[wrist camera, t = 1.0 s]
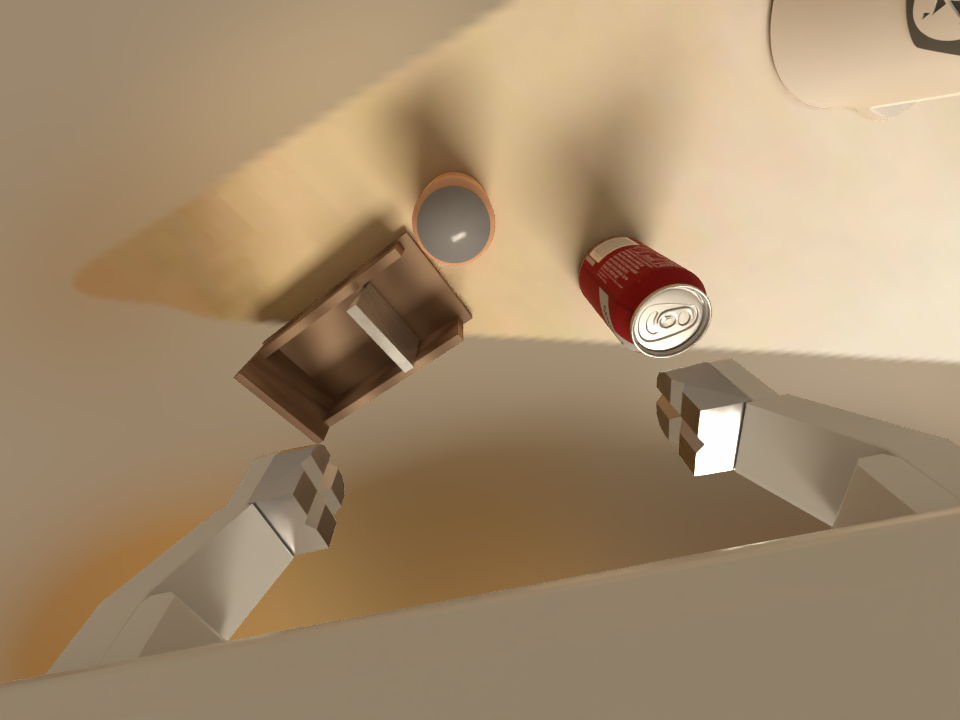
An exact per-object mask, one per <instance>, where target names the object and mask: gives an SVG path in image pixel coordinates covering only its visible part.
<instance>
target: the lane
mask: <svg viewBox="0 0 960 720" xmlns="http://www.w3.org/2000/svg"><path fill="white" fill-rule="evenodd" d="M369 282H370V283H371V284H372V285H373V286H374V288H375V289H376V290H377V291H378V292H379V293H380V294H381V296H382V297H383V298H384V299H385V300H386V301H387V302H388V303H389V305H390V306H391V307H392V308H393V309H394V310H395V311H396V313H397V314H398V315H399V316H400V317H401V318H402V319H403V320H404V322H405V323H406V324H407V325H408V326H409V327H410V328H411V330H412V331H413V332H414V333H415V334H416V335H417V336H418V337H419V344H418V349H417V354H416V359H415V364H414V367H413V368H412V369H410V370H409V371H407V372H406V373H405V372H404V371H403V370H402V369H401V368H400V367H399V366H398V365H397V364H396V363H395V362H394V361H393V360H392V359H391V358H390V357H389V356H388V354H387V353H386V352H385V351H384V350H383V349H382V348H381V347H380V346H379V345H378V344H377V343H376V342H375V341H374V340H373V339H372V338H371V337H370V336H369V335H368V334H367V333H366V331H365V330H364V329H363V328H362V327H361V326H360V325H359V324H358V323H357V322H356V321H355V320H354V319H353V318H352V317H351V316H350V315H349V314H348V313H347V312H346V311H347V310H348V308H349V307H350V305H351V304H352V302H353V300H354V299H355V297H356V296H357V294H358V293H359V291H360V289H361V288H362V287H363V286H365V285H366V284H367V283H369ZM470 319H472V315H471V314H470V312H469V311H468V310H467V308H466V307H465V306H464V304H463V303H462V302H461V301H460V299H459V298H458V297H457V295H456V294H455V293H454V291H453V290H452V289H451V288H450V286H449V285H448V284H447V282H446V281H445V280H444V278H443V277H442V276H441V275H440V273H439V272H438V271H437V269H436V268H435V267H434V266H433V264H432V263H431V262H430V260H429V259H428V258H427V256H426V255H425V254H424V253H423V251H422V250H421V249H420V247H419V246H418V245H417V243H416V242H415V241H414V240H413V238H412V237H411V236H410V234H409V233H408V232H406V233H404V234H403V235H402V236H400V237H399V238H398V239H396V240H395V241H394V242H393V243H391V244H390V245H389V246H387V247H386V248H385V249H383V250H382V251H381V252H380V253H378V254H377V255H376V256H374V257H373V258H372V259H370V260H369V261H368V262H367V263H365V264H364V265H363V266H361V267H360V268H359V269H357V270H356V271H355V272H354V273H352V274H351V275H350V276H348V277H347V278H346V279H344V280H343V281H342V282H341V283H339V284H338V285H337V286H335V287H334V288H333V289H331V290H330V291H329V292H328V293H326V294H325V295H324V296H322V297H321V298H320V299H318V300H317V301H316V302H315V303H313V304H312V305H311V306H309V307H308V308H307V309H305V310H304V311H303V312H302V313H300V314H299V315H298V316H296V317H295V318H294V319H292V320H291V321H290V322H289V323H287V324H286V325H285V326H283V327H282V328H281V329H279V330H278V331H277V332H276V333H274V334H273V335H272V336H270V337H269V338H268V339H267V340H265V341H264V342H263V346H262V347H261V349H260V350H259V351H258V352H257V353H256V354H255V355H254V356H253V357H252V358H251V359H250V360H249V361H248V362H247V364H246V365H245V366H244V367H243V368H242V369H241V370H240V371H239V372H238V373H237V374H236V375H235V376H234V378H235V379H236V380H237V381H238V382H240V383H241V384H242V385H243V386H245V387H246V388H247V389H248V390H250V391H251V392H252V393H253V394H255V395H256V396H257V397H259V398H260V399H261V400H262V401H263V402H265V403H266V404H267V405H269V406H270V407H271V408H272V409H273V410H275V411H276V412H277V413H278V414H280V415H281V416H282V417H283V418H285V419H286V420H287V421H289V422H290V423H291V424H292V425H294V426H295V427H296V428H297V429H299V430H300V431H301V432H302V433H304V434H305V435H306V436H307V437H309V438H310V439H311V440H313V441H314V442H315V443H316V444H319V443H321V442H322V441H323V440H324V438H325V436H326V434H327V431H328V429H329V427H330V426H332V425H334V424H335V423H337V422H338V421H340V420H341V419H343V418H344V417H346V416H347V415H349V414H350V413H352V412H354V411H355V410H357V409H358V408H360V407H361V406H363V405H365V404H366V403H368V402H369V401H371V400H372V399H374V398H375V397H377V396H378V395H380V394H381V393H383V392H384V391H386V390H388V389H389V388H391V387H392V386H394V385H396V384H397V383H398V382H400V381H402V380H403V379H405V378H406V377H408V376H409V375H411V374H413V373H414V372H416V371H417V370H419V369H420V368H422V367H423V366H425V365H427V364H428V363H430V362H431V361H433V360H434V359H436V358H437V357H439V356H440V355H442V354H443V353H445V352H446V351H448V350H450V349H451V348H453V347H454V346H456V345H457V344H459V343H460V342H462V341H463V324H464V323H466V322H467V321H469V320H470Z"/></svg>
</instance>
